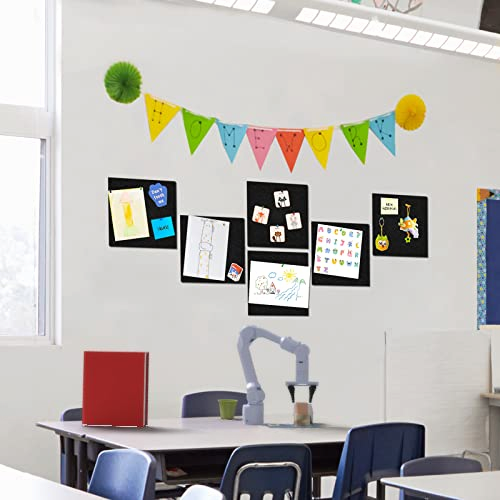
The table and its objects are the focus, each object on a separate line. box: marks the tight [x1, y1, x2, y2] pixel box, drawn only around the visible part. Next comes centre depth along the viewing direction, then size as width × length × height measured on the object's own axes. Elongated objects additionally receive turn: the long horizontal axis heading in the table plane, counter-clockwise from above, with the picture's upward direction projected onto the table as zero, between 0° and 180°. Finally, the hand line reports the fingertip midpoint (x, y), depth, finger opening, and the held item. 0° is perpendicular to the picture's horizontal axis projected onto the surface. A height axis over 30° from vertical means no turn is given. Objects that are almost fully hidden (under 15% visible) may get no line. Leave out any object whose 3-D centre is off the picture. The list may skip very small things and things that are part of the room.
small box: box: [292, 403, 314, 424], centre depth 454 cm, size 8×6×10 cm
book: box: [81, 350, 150, 428], centre depth 436 cm, size 27×8×32 cm, turn 83°
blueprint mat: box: [264, 423, 325, 429], centre depth 442 cm, size 24×16×1 cm, turn 99°
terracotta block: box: [295, 401, 309, 415], centre depth 445 cm, size 4×4×5 cm
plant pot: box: [217, 399, 239, 420], centre depth 476 cm, size 9×9×9 cm
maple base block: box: [293, 414, 311, 426], centre depth 444 cm, size 6×6×5 cm
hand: (301, 402), depth 445 cm, fingers open, 7 cm apart
